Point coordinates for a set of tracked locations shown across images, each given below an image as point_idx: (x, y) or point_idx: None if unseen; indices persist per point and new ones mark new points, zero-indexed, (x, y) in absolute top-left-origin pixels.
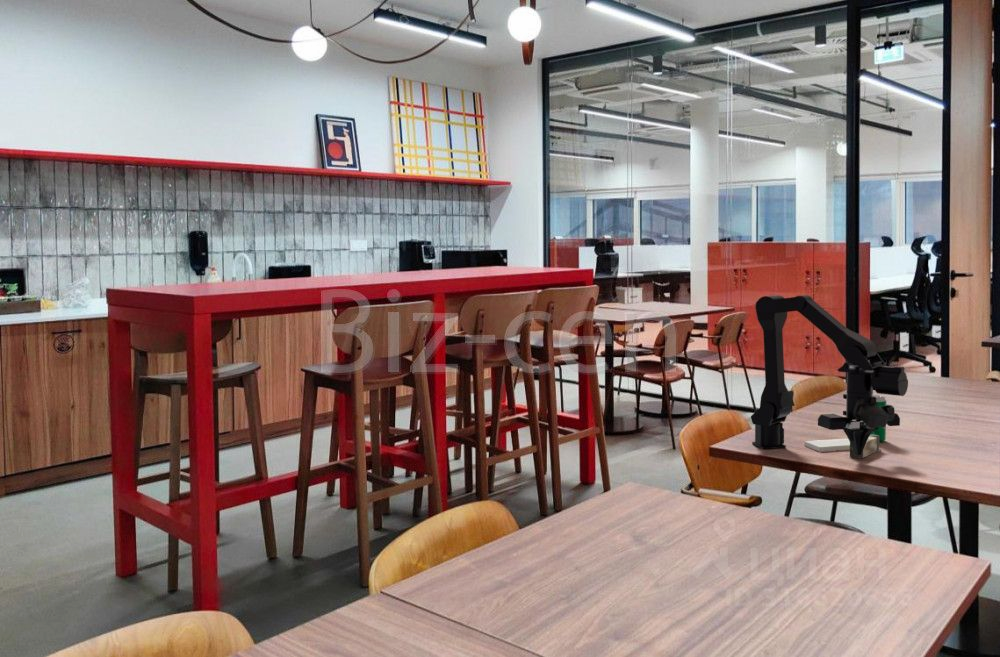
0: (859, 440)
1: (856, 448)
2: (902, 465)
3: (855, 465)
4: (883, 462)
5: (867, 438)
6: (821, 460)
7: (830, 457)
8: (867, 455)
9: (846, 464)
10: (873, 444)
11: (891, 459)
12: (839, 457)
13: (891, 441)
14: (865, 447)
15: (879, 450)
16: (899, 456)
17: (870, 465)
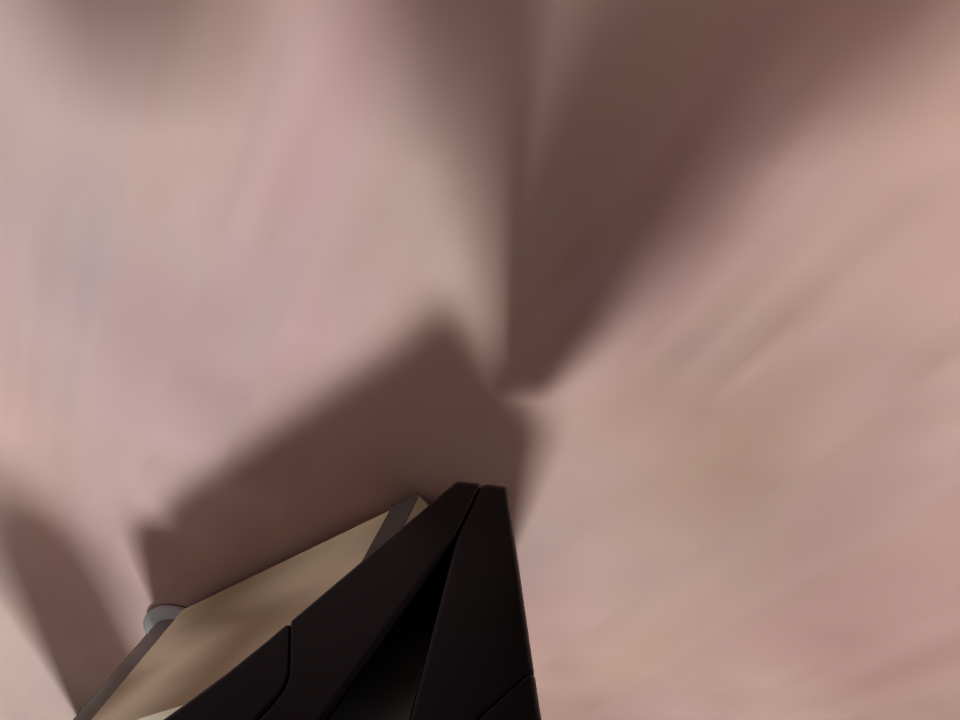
0: (438, 716)
1: (518, 577)
2: (56, 109)
3: (694, 281)
4: (239, 311)
5: (204, 703)
6: (946, 624)
7: (704, 654)
8: (306, 550)
9: (786, 369)
10: (164, 663)
11: (126, 388)
12: (606, 619)
13: (48, 700)
14: (287, 622)
15: (157, 612)
16: (43, 447)
17: (468, 220)
